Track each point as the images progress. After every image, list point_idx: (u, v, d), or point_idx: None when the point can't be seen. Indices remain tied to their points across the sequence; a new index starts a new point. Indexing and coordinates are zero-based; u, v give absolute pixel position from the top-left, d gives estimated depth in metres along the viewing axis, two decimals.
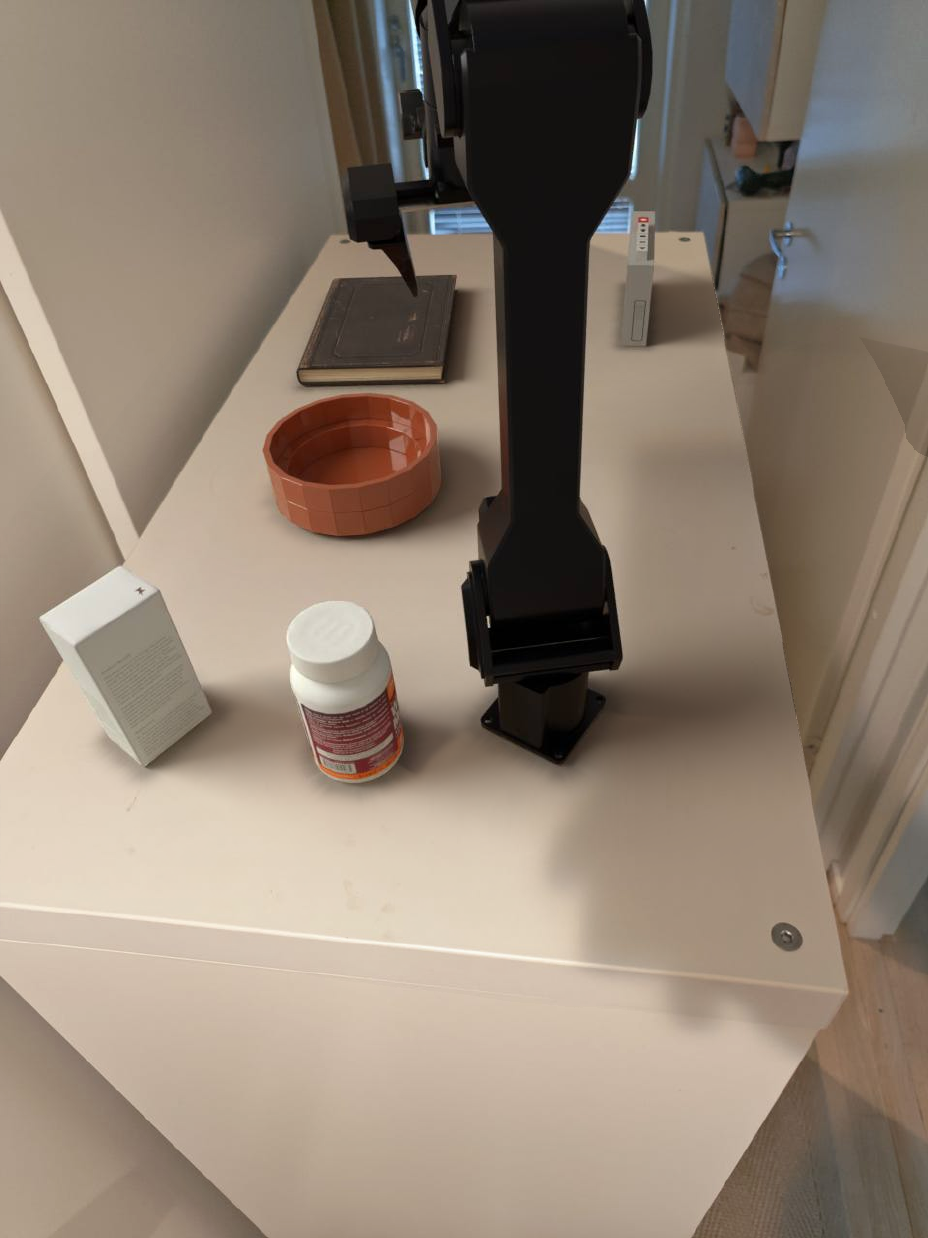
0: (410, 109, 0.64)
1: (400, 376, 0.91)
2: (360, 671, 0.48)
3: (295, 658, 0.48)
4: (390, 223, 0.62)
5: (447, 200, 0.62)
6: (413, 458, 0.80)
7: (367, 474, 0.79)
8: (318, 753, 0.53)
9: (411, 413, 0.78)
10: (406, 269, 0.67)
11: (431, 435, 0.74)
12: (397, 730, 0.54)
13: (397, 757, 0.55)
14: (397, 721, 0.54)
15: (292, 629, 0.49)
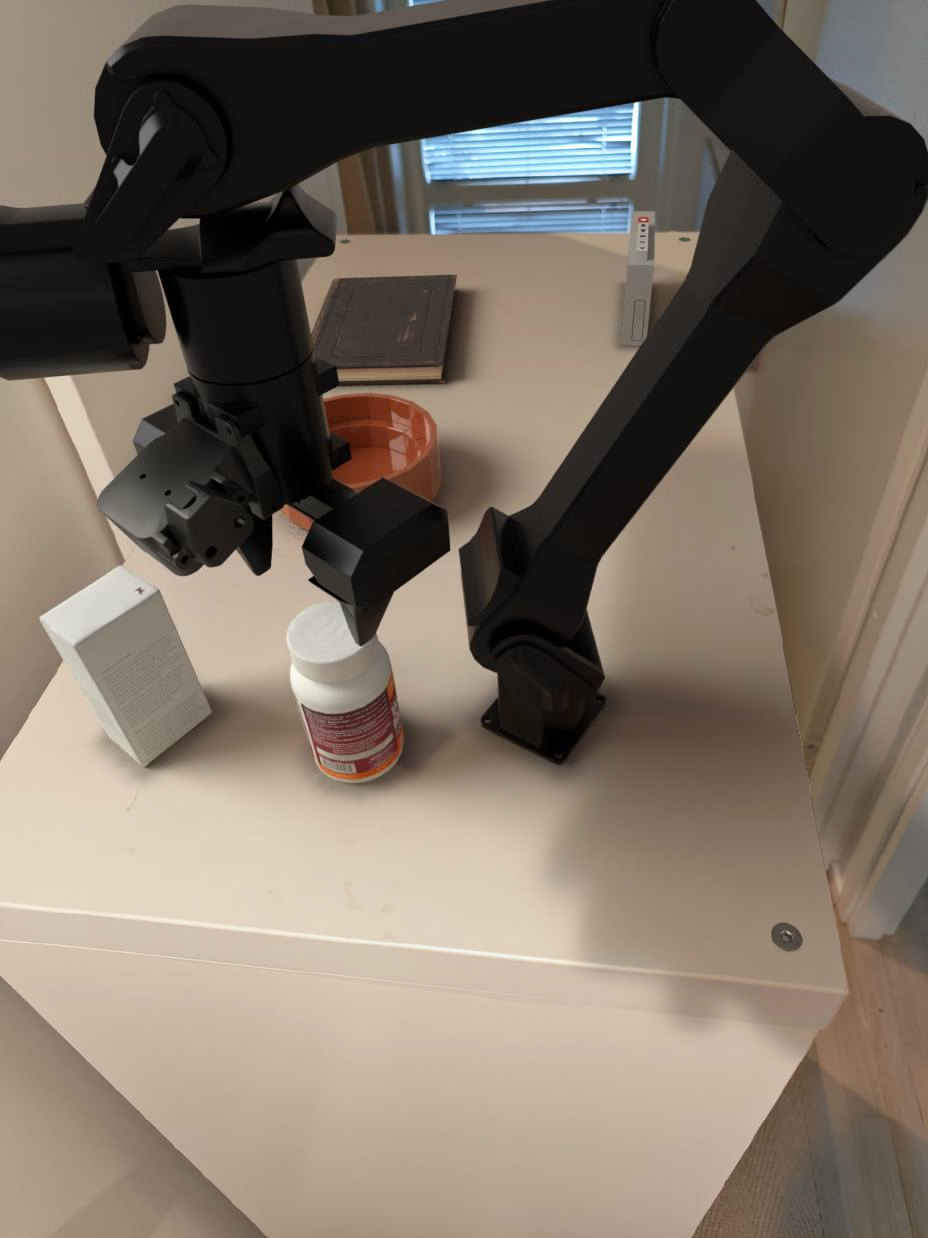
0: (223, 494, 0.36)
1: (400, 376, 0.91)
2: (360, 671, 0.48)
3: (295, 658, 0.48)
4: None
5: None
6: (413, 458, 0.80)
7: (367, 474, 0.79)
8: (318, 753, 0.53)
9: (411, 413, 0.78)
10: None
11: (431, 435, 0.74)
12: (397, 730, 0.54)
13: (397, 757, 0.55)
14: (397, 721, 0.54)
15: (292, 629, 0.49)
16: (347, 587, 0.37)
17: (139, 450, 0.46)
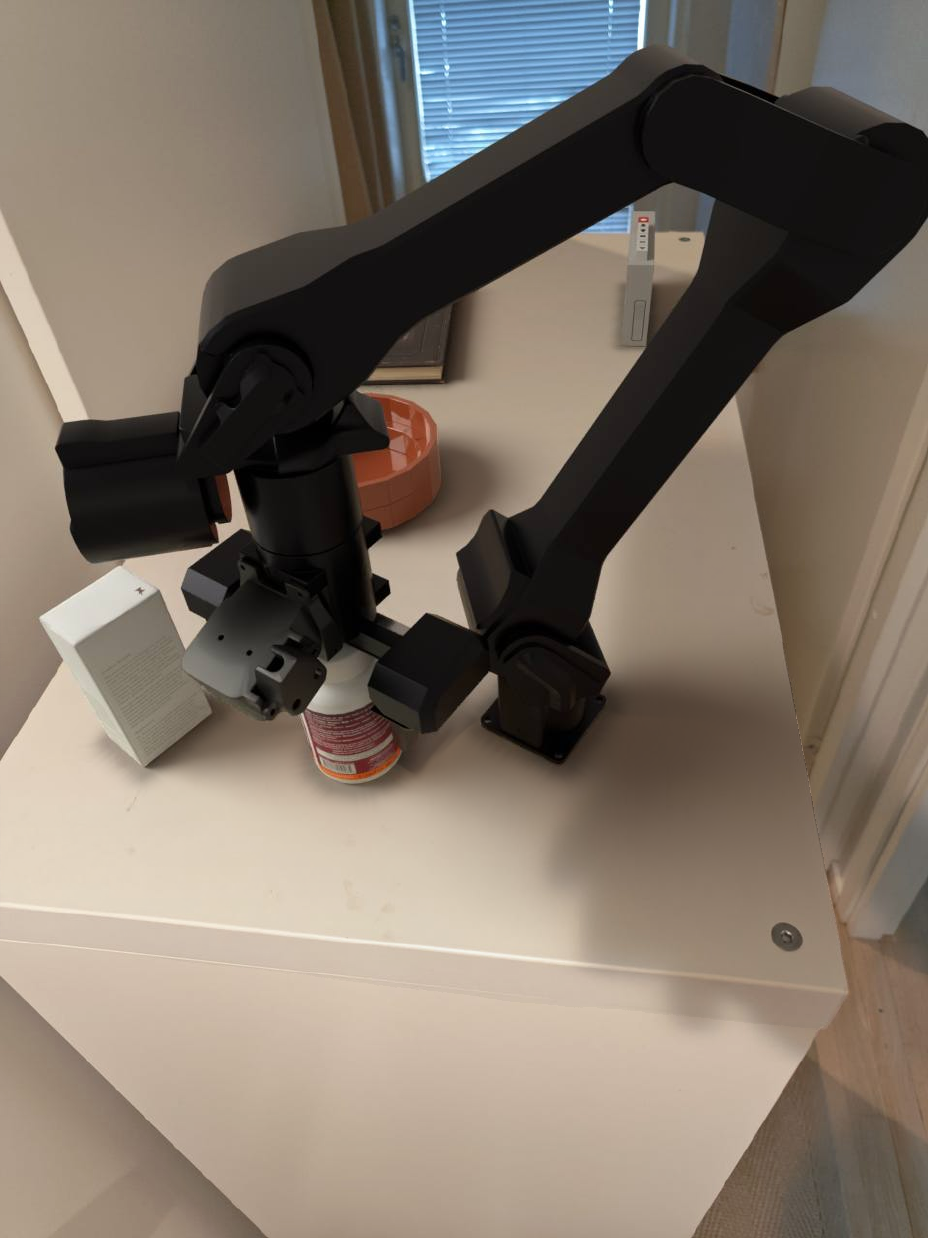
0: (302, 652, 0.41)
1: (400, 376, 0.91)
2: (359, 672, 0.48)
3: None
4: None
5: None
6: (413, 458, 0.80)
7: (367, 474, 0.79)
8: (317, 753, 0.53)
9: (411, 413, 0.78)
10: None
11: (431, 435, 0.74)
12: None
13: (397, 757, 0.55)
14: None
15: None
16: (414, 719, 0.43)
17: (187, 596, 0.50)
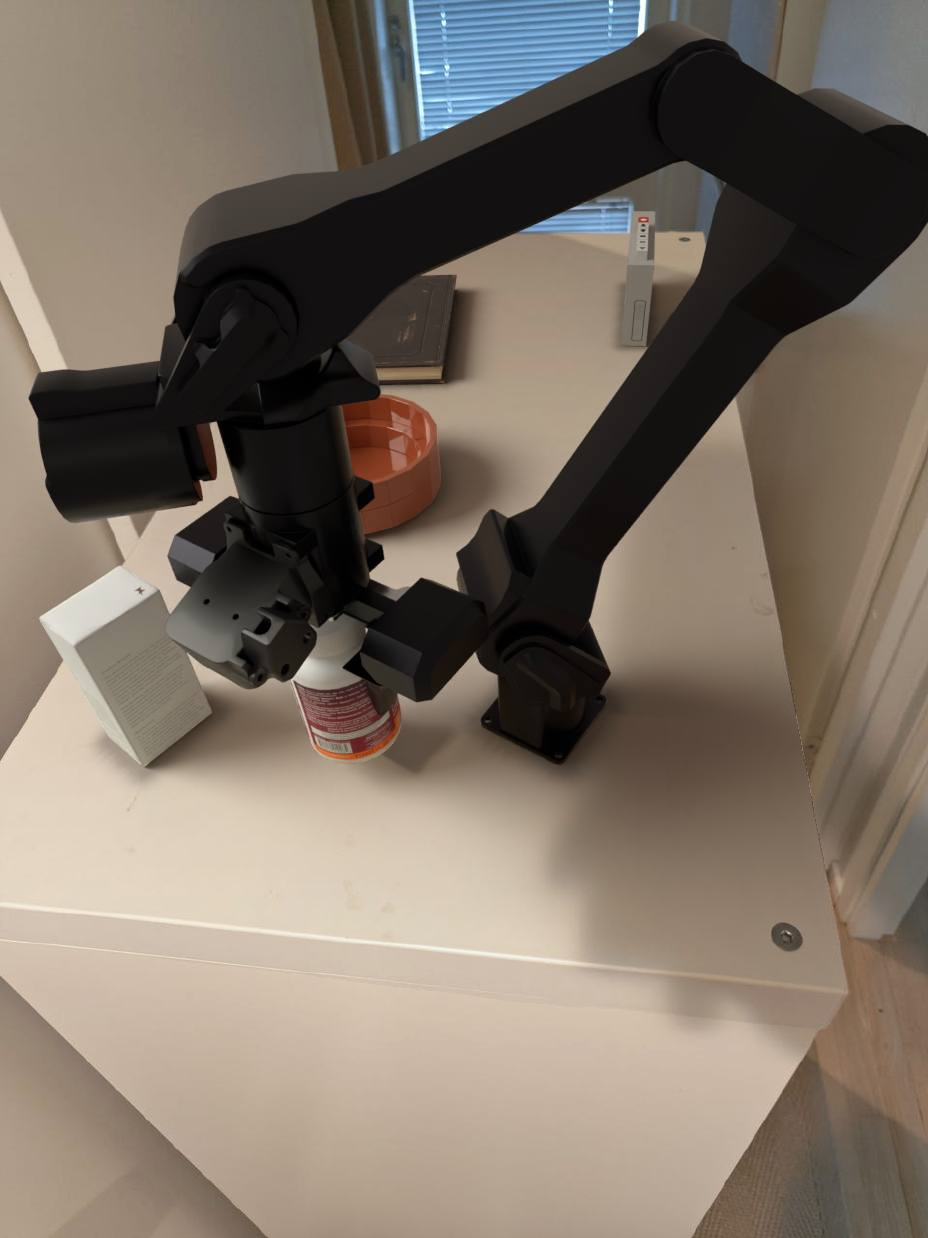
0: (291, 615, 0.39)
1: (400, 376, 0.91)
2: (353, 645, 0.47)
3: None
4: None
5: None
6: (413, 458, 0.80)
7: (367, 474, 0.79)
8: (312, 732, 0.52)
9: (411, 413, 0.78)
10: None
11: (431, 435, 0.74)
12: (394, 708, 0.53)
13: (395, 736, 0.54)
14: None
15: None
16: (408, 685, 0.41)
17: (174, 564, 0.48)
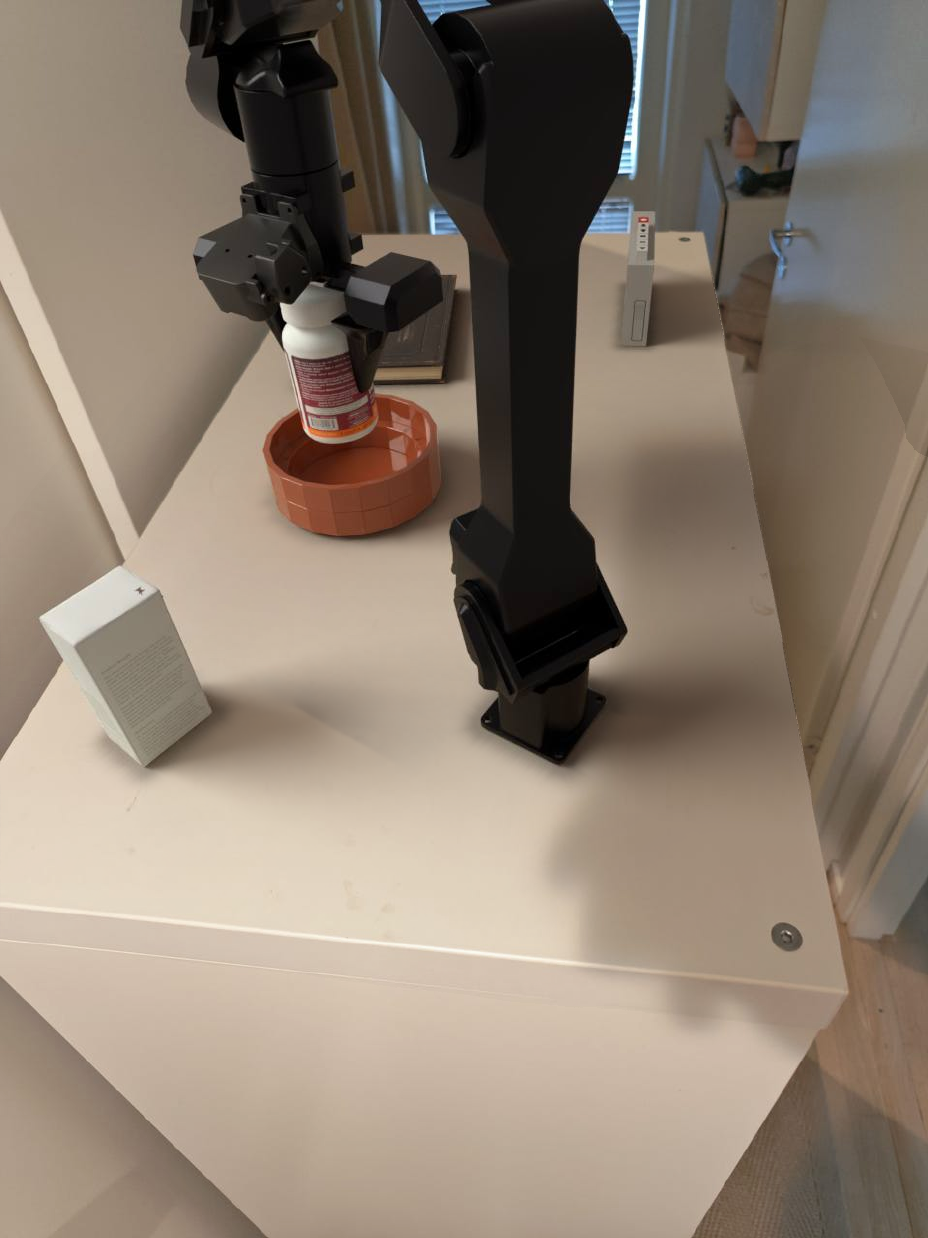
0: None
1: (400, 376, 0.91)
2: None
3: (285, 307, 0.60)
4: None
5: None
6: (413, 458, 0.80)
7: (367, 474, 0.79)
8: (306, 412, 0.65)
9: (411, 413, 0.78)
10: None
11: (431, 435, 0.74)
12: (372, 396, 0.66)
13: (372, 424, 0.67)
14: (371, 387, 0.65)
15: None
16: (380, 316, 0.55)
17: (198, 261, 0.61)
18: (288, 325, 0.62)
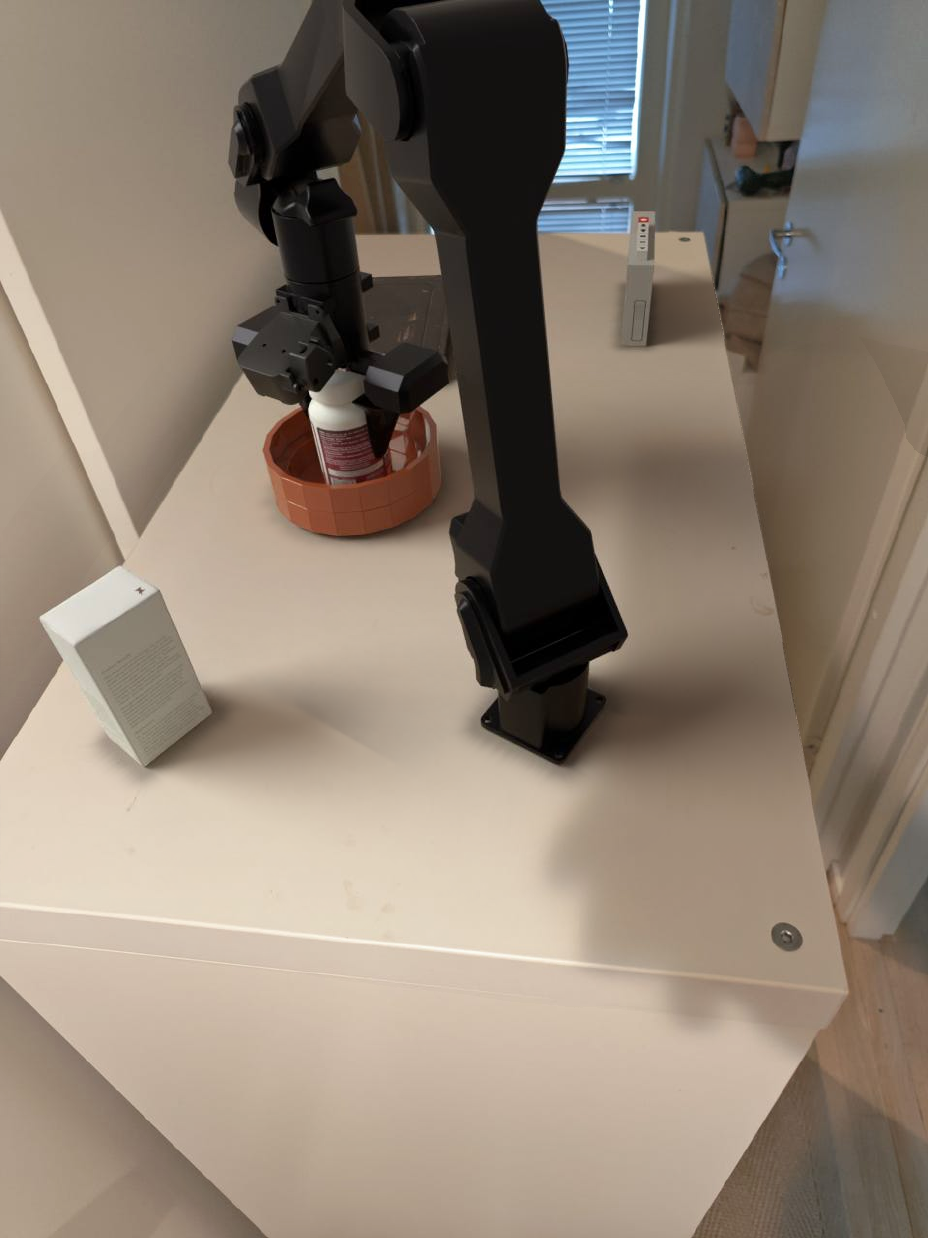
0: None
1: None
2: None
3: None
4: None
5: None
6: (413, 458, 0.80)
7: None
8: (329, 474, 0.74)
9: (411, 413, 0.78)
10: None
11: (431, 435, 0.74)
12: (386, 460, 0.75)
13: None
14: (386, 452, 0.74)
15: None
16: (394, 400, 0.63)
17: (236, 346, 0.71)
18: (314, 400, 0.71)
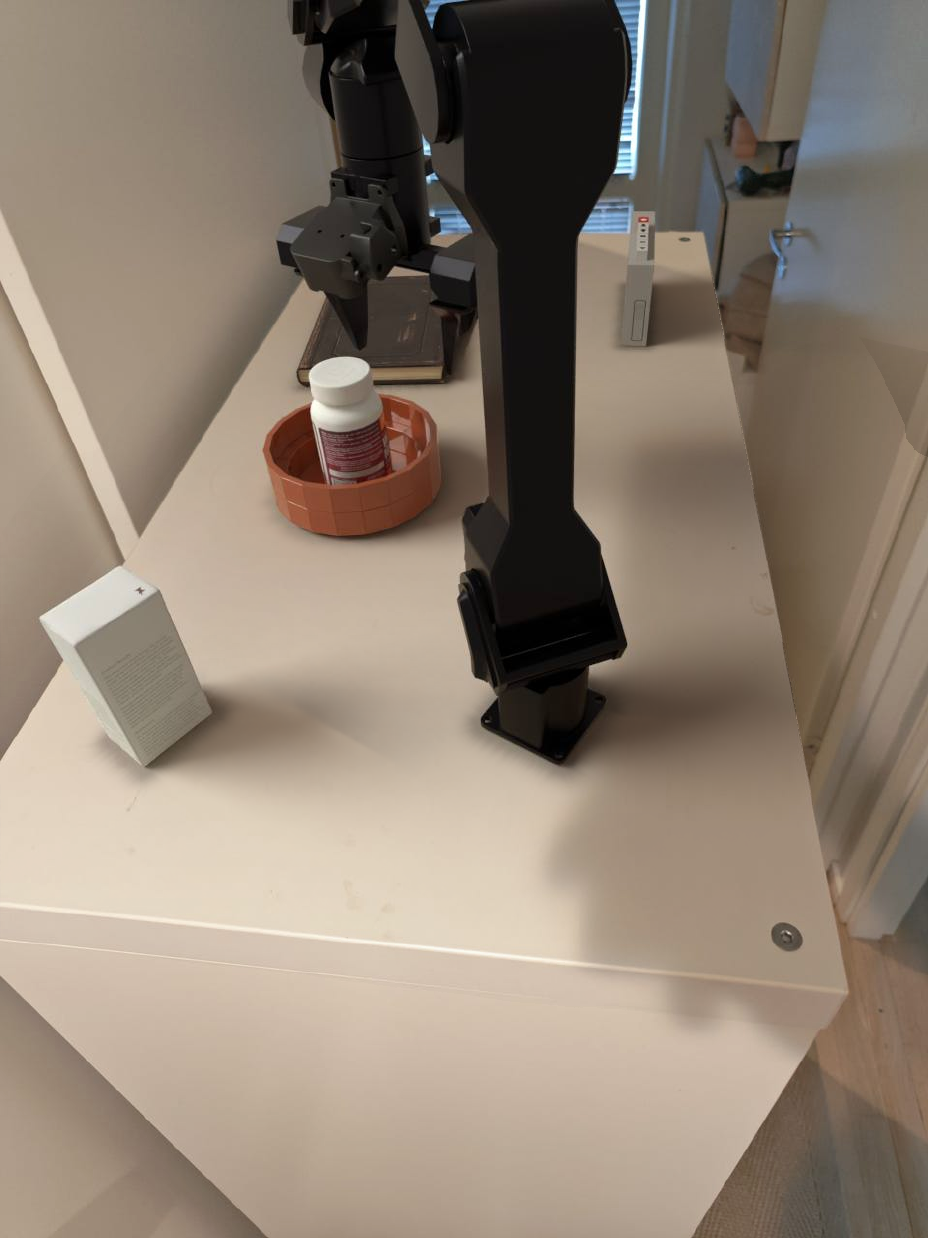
0: None
1: (400, 376, 0.91)
2: (360, 398, 0.69)
3: (315, 387, 0.69)
4: None
5: None
6: (413, 458, 0.80)
7: None
8: (330, 475, 0.74)
9: (411, 413, 0.78)
10: None
11: (431, 435, 0.74)
12: (387, 461, 0.75)
13: None
14: (387, 453, 0.74)
15: (312, 371, 0.70)
16: (465, 291, 0.57)
17: (281, 246, 0.64)
18: (316, 401, 0.71)
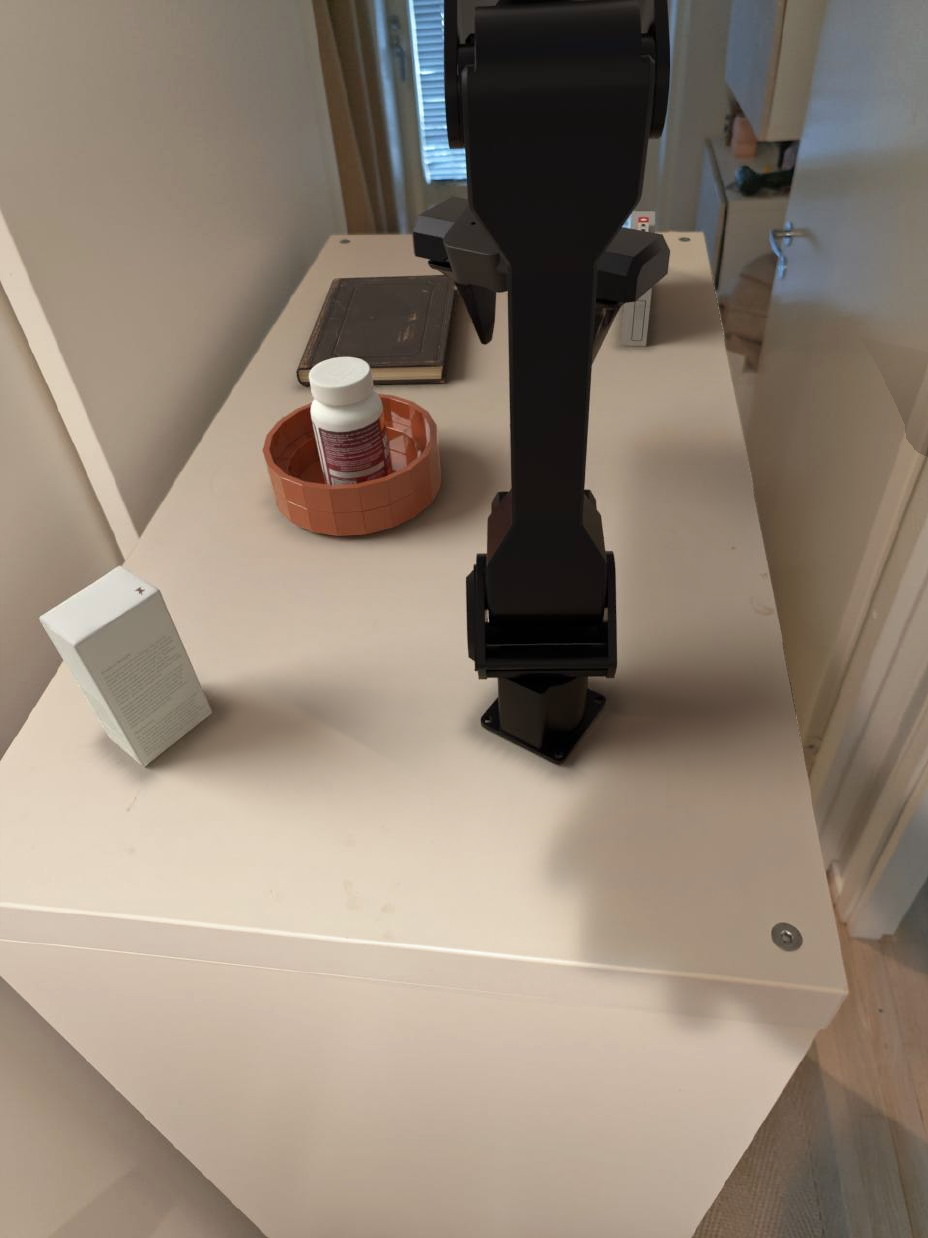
0: None
1: (400, 376, 0.91)
2: (360, 398, 0.69)
3: (315, 387, 0.69)
4: None
5: None
6: (413, 458, 0.80)
7: None
8: (330, 475, 0.74)
9: (411, 413, 0.78)
10: None
11: (431, 435, 0.74)
12: (387, 461, 0.75)
13: None
14: (387, 453, 0.74)
15: (312, 371, 0.70)
16: (620, 286, 0.56)
17: (418, 238, 0.63)
18: (316, 401, 0.71)
